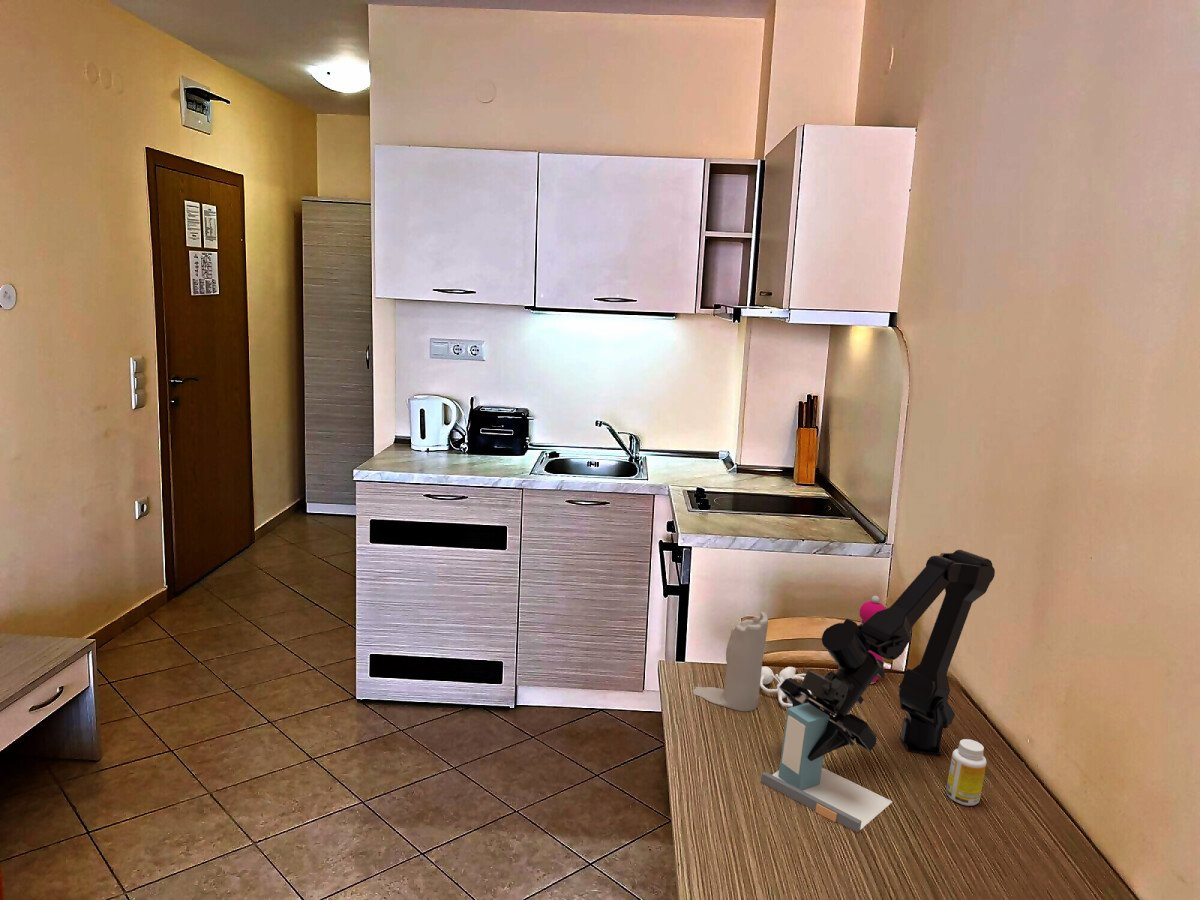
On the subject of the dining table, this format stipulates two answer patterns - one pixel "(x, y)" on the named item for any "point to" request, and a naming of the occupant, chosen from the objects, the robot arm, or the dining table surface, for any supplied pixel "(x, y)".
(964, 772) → the supplement bottle
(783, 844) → the dining table surface
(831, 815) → the ticket
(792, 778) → the carton
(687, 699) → the dining table surface
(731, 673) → the candle
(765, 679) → the tangled rod sculpture
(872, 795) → the white base plate
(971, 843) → the dining table surface
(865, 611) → the pepper mill
